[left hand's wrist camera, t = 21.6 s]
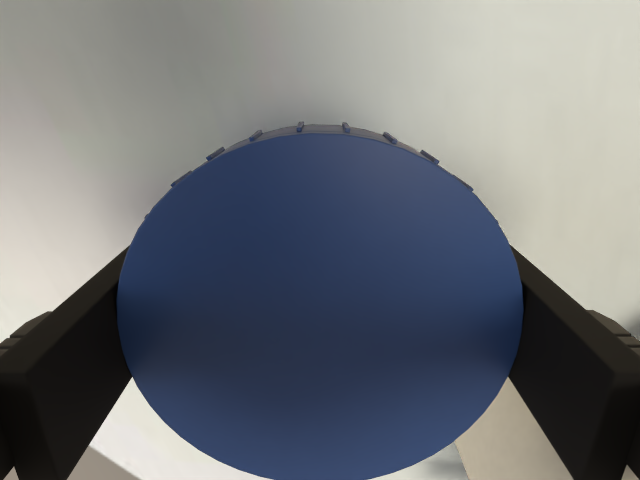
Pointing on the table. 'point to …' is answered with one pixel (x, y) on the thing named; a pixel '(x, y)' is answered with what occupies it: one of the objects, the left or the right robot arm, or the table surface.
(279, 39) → the table surface
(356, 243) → the lid
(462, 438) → the jar
